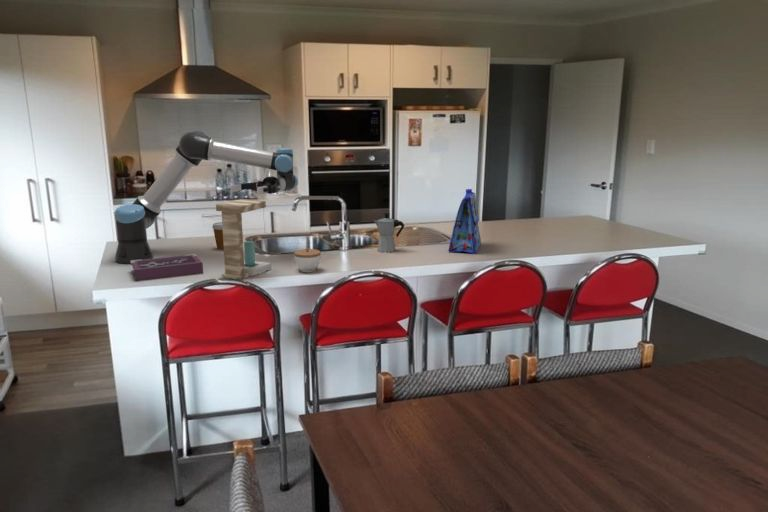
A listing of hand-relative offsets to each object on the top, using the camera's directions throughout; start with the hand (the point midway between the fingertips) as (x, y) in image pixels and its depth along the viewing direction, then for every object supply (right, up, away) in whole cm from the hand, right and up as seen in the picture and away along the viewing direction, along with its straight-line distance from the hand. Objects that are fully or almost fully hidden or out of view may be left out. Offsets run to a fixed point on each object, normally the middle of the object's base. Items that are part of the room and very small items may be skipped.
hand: (244, 189), depth 240 cm
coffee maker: (+60, -25, +33) cm, 73 cm away
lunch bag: (+97, -24, +39) cm, 107 cm away
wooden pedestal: (+2, -34, -8) cm, 35 cm away
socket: (+4, -34, -4) cm, 34 cm away
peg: (+4, -34, -4) cm, 34 cm away
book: (-29, -35, -6) cm, 46 cm away
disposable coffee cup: (-18, -24, +36) cm, 47 cm away
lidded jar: (+27, -34, -2) cm, 43 cm away
